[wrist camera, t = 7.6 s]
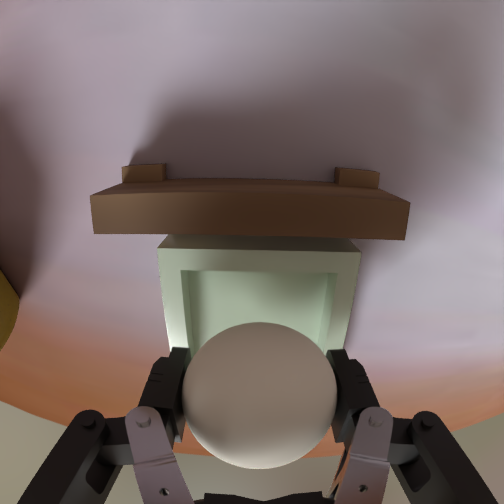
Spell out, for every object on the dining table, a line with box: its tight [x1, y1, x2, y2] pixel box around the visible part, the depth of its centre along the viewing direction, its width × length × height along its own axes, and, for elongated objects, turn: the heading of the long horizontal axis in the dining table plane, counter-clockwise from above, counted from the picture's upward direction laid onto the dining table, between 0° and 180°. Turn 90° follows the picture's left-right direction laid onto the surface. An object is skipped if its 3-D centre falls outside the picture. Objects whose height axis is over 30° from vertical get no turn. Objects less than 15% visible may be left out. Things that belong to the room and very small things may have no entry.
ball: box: [182, 322, 337, 469], centre depth 11 cm, size 6×6×6 cm
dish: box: [157, 234, 362, 359], centre depth 15 cm, size 9×9×2 cm
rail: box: [90, 164, 410, 240], centre depth 12 cm, size 3×12×4 cm, turn 89°
